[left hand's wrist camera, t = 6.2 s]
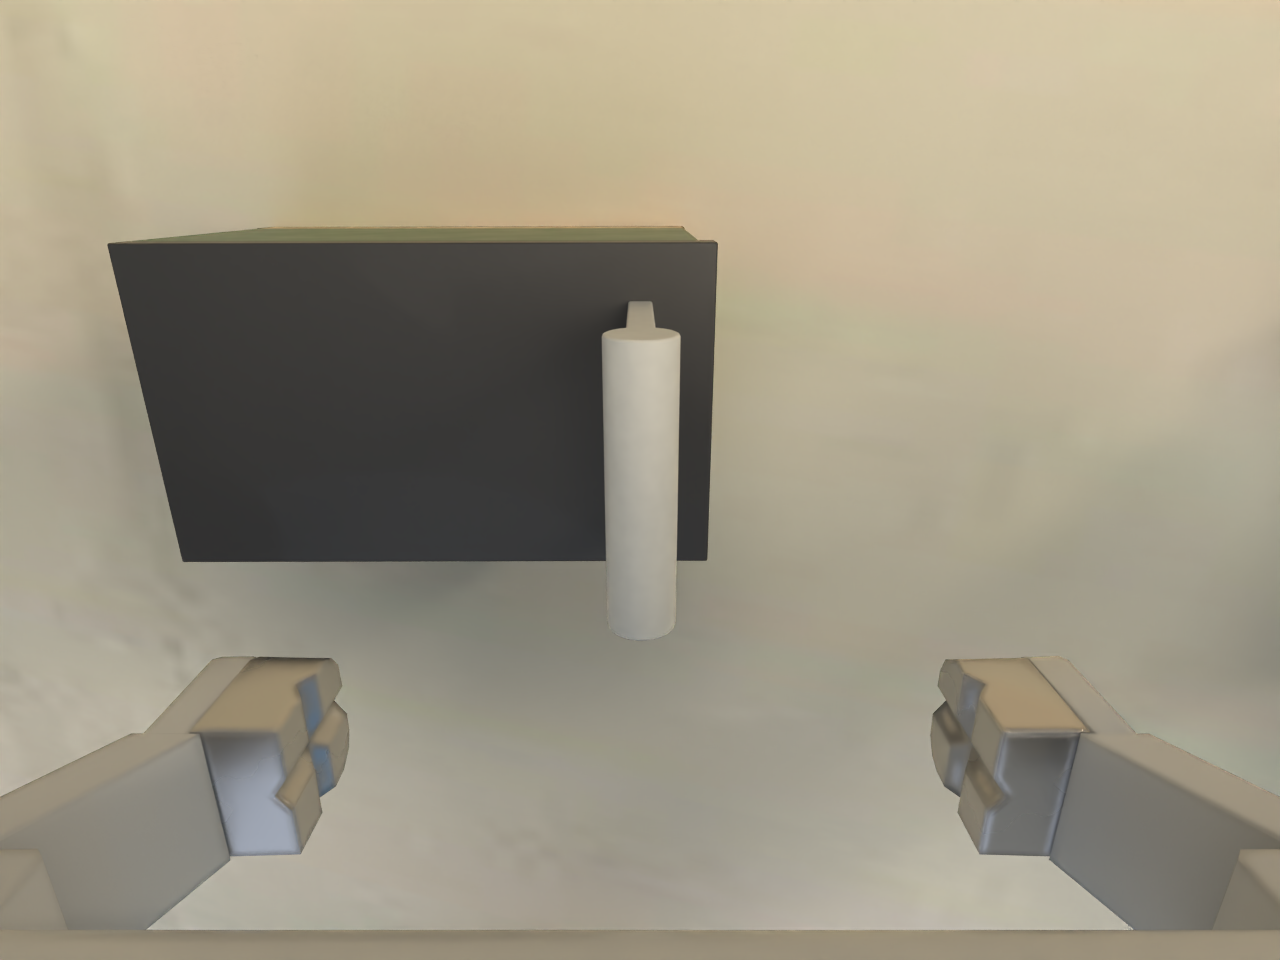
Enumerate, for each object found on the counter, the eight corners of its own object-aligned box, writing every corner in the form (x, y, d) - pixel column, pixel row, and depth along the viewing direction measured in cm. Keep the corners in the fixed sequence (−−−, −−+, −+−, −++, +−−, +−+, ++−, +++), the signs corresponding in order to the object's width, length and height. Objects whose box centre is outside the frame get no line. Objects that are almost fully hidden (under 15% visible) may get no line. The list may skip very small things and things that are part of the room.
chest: (682, 226, 31) (700, 239, 23) (678, 458, 35) (692, 548, 26) (271, 227, 31) (127, 240, 22) (309, 459, 35) (198, 549, 26)
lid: (714, 240, 22) (753, 264, 15) (705, 548, 26) (732, 694, 18) (127, 241, 22) (-132, 266, 15) (197, 550, 26) (17, 696, 18)
